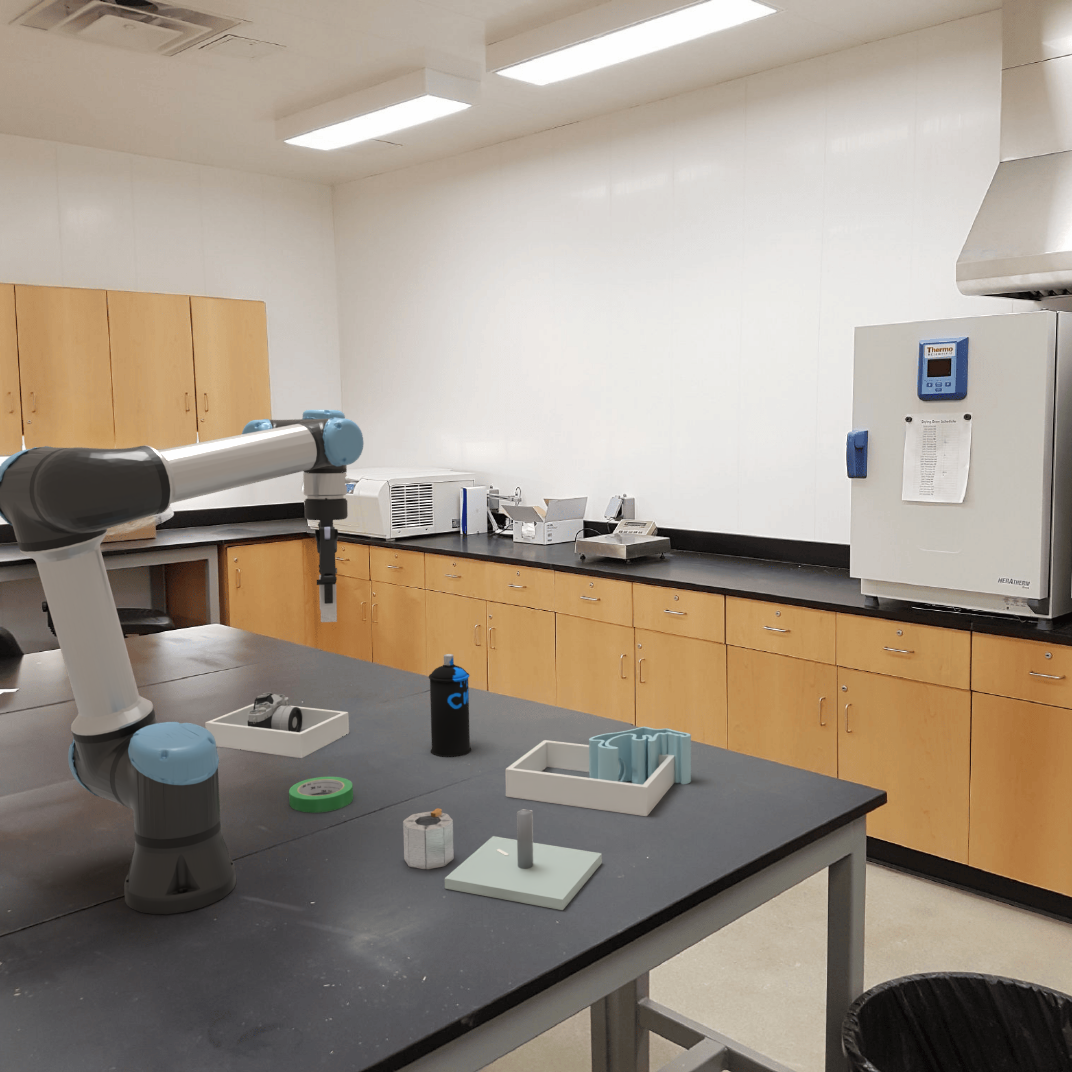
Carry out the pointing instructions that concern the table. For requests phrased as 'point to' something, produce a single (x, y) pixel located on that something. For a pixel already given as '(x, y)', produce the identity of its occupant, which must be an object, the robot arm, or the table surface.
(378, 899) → the table surface
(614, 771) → the light blue curvy piece
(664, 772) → the dispenser corral
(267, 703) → the camera
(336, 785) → the tape roll
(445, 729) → the aerosol can
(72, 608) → the robot arm
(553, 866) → the peg stand
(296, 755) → the camera corral
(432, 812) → the grey piece
